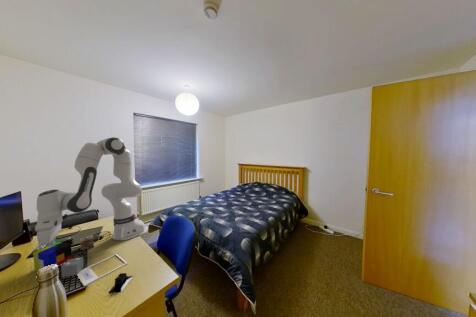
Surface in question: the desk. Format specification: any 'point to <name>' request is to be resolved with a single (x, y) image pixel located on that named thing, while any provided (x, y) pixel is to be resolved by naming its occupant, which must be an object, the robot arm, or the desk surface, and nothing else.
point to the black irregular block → (120, 283)
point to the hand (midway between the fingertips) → (51, 245)
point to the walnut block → (87, 242)
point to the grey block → (72, 267)
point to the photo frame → (89, 276)
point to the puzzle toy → (52, 255)
